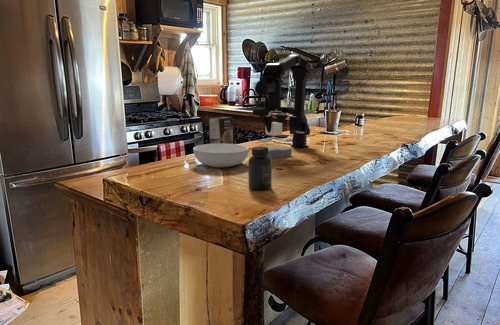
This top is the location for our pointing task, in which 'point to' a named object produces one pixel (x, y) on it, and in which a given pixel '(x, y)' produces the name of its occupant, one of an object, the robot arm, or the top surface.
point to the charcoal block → (278, 152)
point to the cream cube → (275, 129)
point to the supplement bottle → (260, 169)
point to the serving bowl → (220, 154)
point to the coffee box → (221, 130)
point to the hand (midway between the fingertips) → (273, 131)
